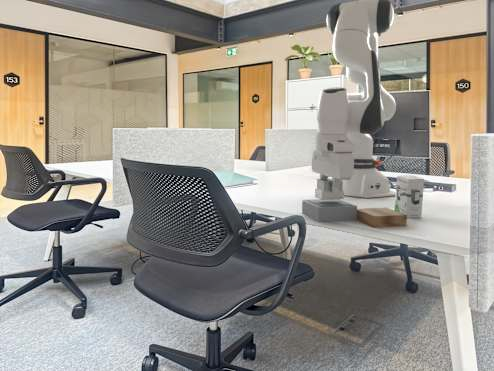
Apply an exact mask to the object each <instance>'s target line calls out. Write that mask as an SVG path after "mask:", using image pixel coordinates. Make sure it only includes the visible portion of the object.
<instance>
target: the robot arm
mask: <svg viewBox="0 0 494 371" xmlns="http://www.w3.org/2000/svg"><path fill="white" fill-rule="evenodd" d="M394 17H395V10H394V7H393V4H392V2H391V1H390V0H355V1H349V2H344V3H341V2H339V3H336V4H334V5H332V6H331V7H330V8H329V9H328V12H327V15H326V26H327V30H328V32H329V33H330V34H331V35H332V36H333V41H332V55H333V57H334V59H335V60H336V62H338V63H339V64H340V65H341V66H343V67H345V68H346V69H345V72H346V73H345V75H346V78H347V80H349V81H351V82H352V83H353V84H354V85H357V86H359V87H360V88H361V89H362V92H352V93H351V92H349V93H348V90H347V89H346V88H345V87H327V88H323V89H322V90H321V91H320V94H319V97H318V98H319V99H318V105H317V115H316V119H317V123H318V124H317V125H318V127H317V131H316V138H315V139H316V142H315V144H316V145H315V148H314V150H313V152H312V156H311V157H312V159H311V171H312V173H315V174H319V179H329V177H330V178H331V179H332V181H333V184H332V187H331V192H332V193H338V189H339V185H340V183H341V180H342V181H343V191H344V196H347V197H358V198H364V199H365V198H366V199H370V198H380V197H393V196H395V197H396V191H393V190H391V184H390V180H389V178H388V177H386V175H384V174H383V173H382V172H381V171H380V170H378V168H377V166H381V165H382V161H381V160H380V159H374V158H373V154H374V153H373V149H374V139H373V137H372V135H375V134H376V133H377V132H379V131H380V130H381V129H382V128H384V125H385V122H386V121H389V120H391V119H392V118H393V116H394V115H395V113H396V110H397V103H396V101H395V98H394V97H393V96H392V94H390V93H389V92H387V90H386V89H385V88H384V87H383V85H382V83H381V71H380V70H381V69H380V62H379V57H378V56H379V41H378V37H381V36H382V34H384V33H386V32H387V31H389V29H390V28H392V24H393V21H394Z"/></svg>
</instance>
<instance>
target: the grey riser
mask: <svg viewBox="0 0 494 371" xmlns="http://www.w3.org/2000/svg"><path fill="white" fill-rule="evenodd" d="M301 201H302V202H301V205H302V206H301V213H302V214H303V215H306V216H307V217H309V218H310V219H313V220H314V221H316V222H318V223H319V222H323V223H324V222H336V221H337V222H340V221H341V222H342V221H358V220H357V209H358V205H356V204H353V203H350V202H347V201H345V200H344V199H336V200H320V199H318V198H314V199H302V200H301Z"/></svg>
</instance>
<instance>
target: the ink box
mask: <svg viewBox="0 0 494 371" xmlns="http://www.w3.org/2000/svg"><path fill="white" fill-rule="evenodd" d="M424 186H425V179H424V178H422V177H419V176H417V175H413V174H411V175H410V174H409V175H408V174H407V175H406V174H405V175H397V178H396V191H395V193H396V195H395V201H394V202H395V204H394V210H395V211H397V212H400V213H403V214H406V215H407V219H408V218H410V219H411V218H414V219H417V218H418V219H419V218H422V212H423V200H424V199H423V198H424Z"/></svg>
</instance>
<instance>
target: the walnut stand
mask: <svg viewBox="0 0 494 371" xmlns="http://www.w3.org/2000/svg"><path fill="white" fill-rule="evenodd" d="M407 219H408V218H407V215H406V214H403V213H400V212H397V211H395V209H391V208H390V207H389V208H388V207H372V208H371V207H367V208H357V220H356V221H359V222H361V223H363V224H365V225H368V226H370V227H372V228H388V227H403V226H404V227H405V226H407V223H408V221H407Z"/></svg>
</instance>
